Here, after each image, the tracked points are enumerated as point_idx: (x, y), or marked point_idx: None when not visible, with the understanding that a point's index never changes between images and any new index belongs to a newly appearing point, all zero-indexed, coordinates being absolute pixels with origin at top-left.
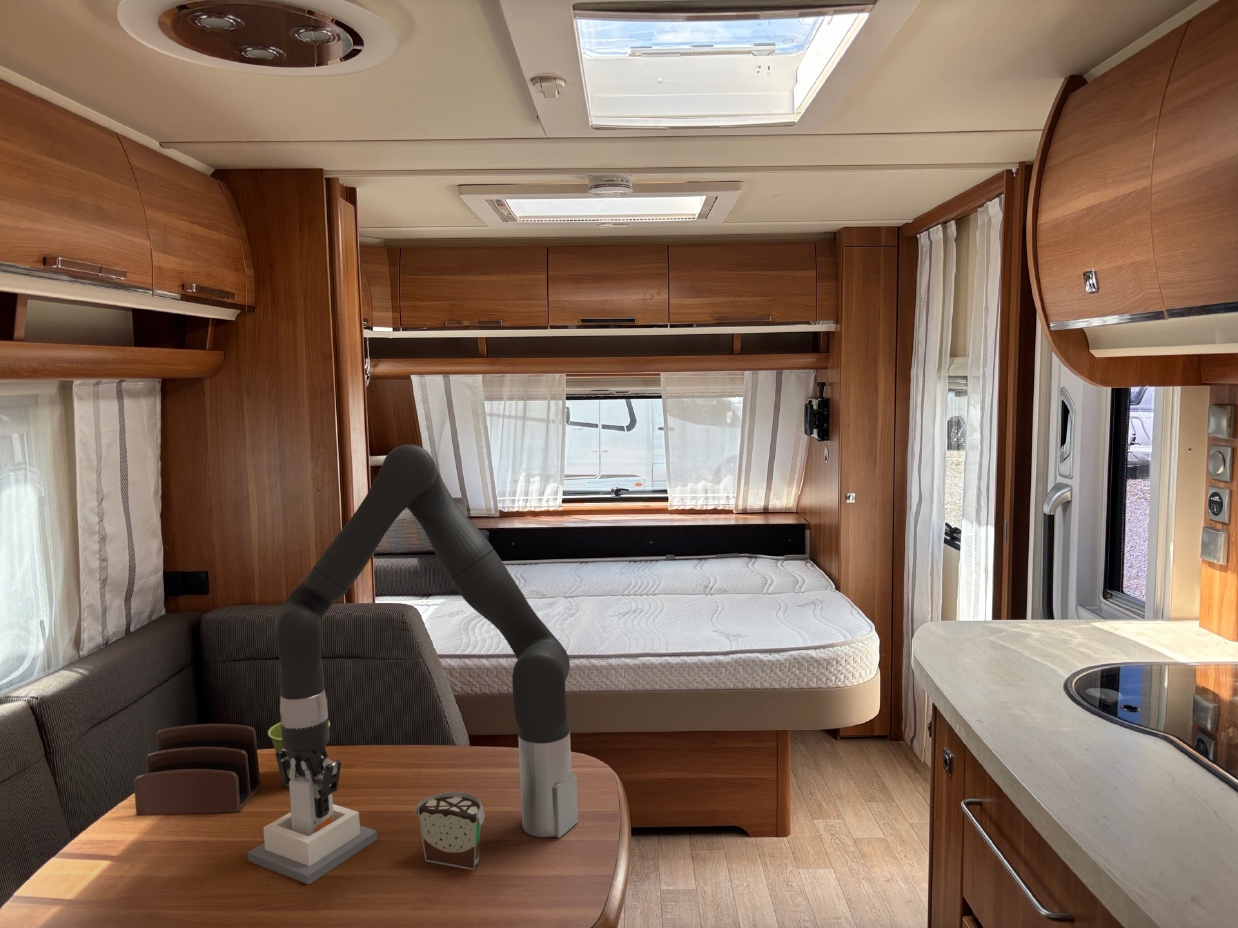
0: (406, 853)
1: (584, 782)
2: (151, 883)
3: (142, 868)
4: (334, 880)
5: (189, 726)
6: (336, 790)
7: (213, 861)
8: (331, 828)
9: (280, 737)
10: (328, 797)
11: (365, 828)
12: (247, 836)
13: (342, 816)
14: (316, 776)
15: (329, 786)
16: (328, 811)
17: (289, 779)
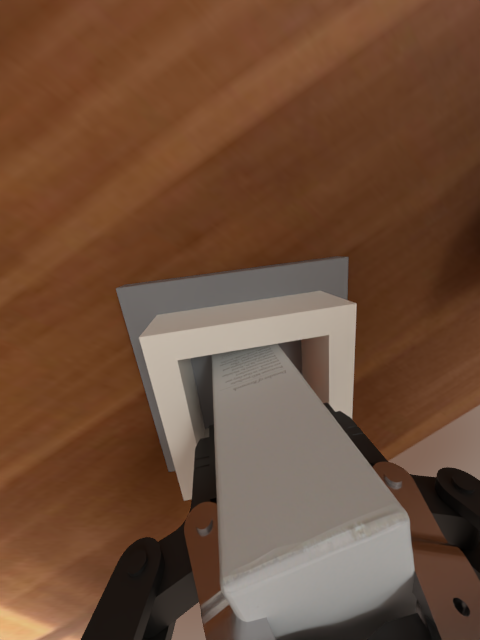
0: (432, 257)
1: None
2: (107, 562)
3: (39, 565)
4: (364, 391)
5: None
6: (463, 474)
7: (118, 492)
8: (352, 400)
9: None
10: (381, 454)
11: (313, 266)
12: (67, 424)
13: (329, 348)
14: (400, 609)
15: (465, 525)
16: (342, 413)
17: (176, 616)
